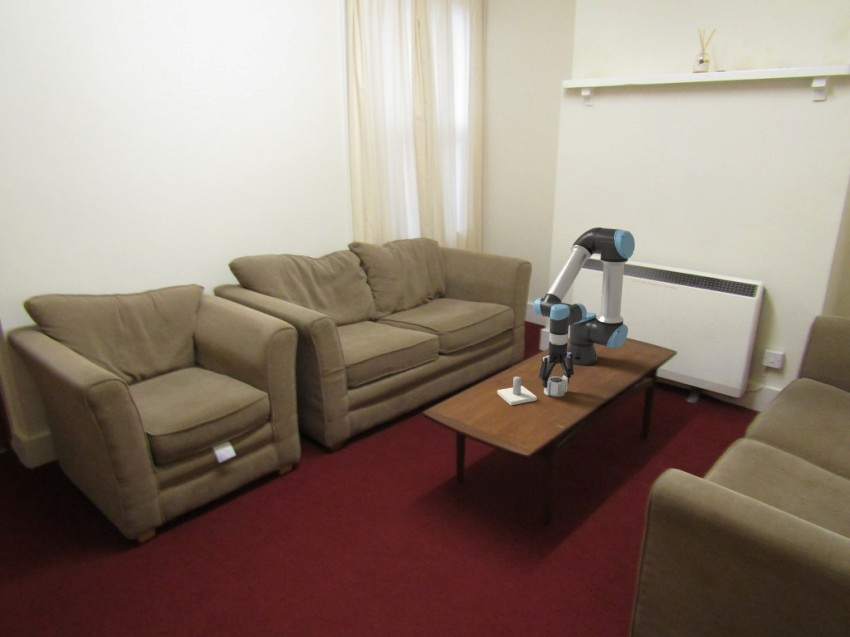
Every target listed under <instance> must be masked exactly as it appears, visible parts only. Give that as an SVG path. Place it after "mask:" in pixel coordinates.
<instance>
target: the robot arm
mask: <svg viewBox="0 0 850 637" xmlns="http://www.w3.org/2000/svg"><path fill="white" fill-rule="evenodd" d="M635 242H636V241H635V238H634V235H633V234H632V232H630V231H628V230H623V229H621V228H620V229H619V228H608V227H598V226H597V227H593V228H590V229H588V230H586V231H585V232H584V233H582V234H581V235H580V236H579V237H578V238H577V239H575V241H574V242H573V244H572V246H571V248H570V254H569V255H568V257H567V258H566V260H565V261H564V263H563V264H562V267H561V268H560V270H559V272H558V274H557V275H556V277H555V279H554V280H553V282H552V283H551V286H550V287H549V289H548V290H547V292H546V294H545V296H544V297H538V298H536V299H535V301H534V302H533V312H534V313H535V314H536V315H539V316H541V317H546V318H550V319H549V332H548V334H549V335H548V336H549V338H548V354H547V355H546V356H544V355H542V357H541V365H540V370H539V375H538V378H539V379H540V380H541V381H542V387H543V394H544V395H546V396H550V395H549V384H550V381H549V380H548V379H549V377H551V374H552V372H553V369H554V367H556V365H558V364H560V366H561V370H562V372H563V375H562V378H564V379H565V380H566V384H565V393H567V392H568V384H569V383H570V378H571V377H572V376H573V375H574V374H575V370H574V365H578V366H588V365H594V364H595V363H596V362H597V360H598V355H597V351H596V348H595V344H597V345H599V346H603V347H607V348H611V349H618V348H620V347H621V346H623V344H624V343H625V341H626V339H627V336H628V333H629V327H628V325H627V324H624V317H622V315H621V313H622V312H621V311H622V310H621V309H622V297H623V284H624V283H623V282H624V272H625V271H624V268H625V264H626V263H627V262H628V261H629V259H630V258H632V256H633V254H634V252H635V249H636V248H635V246H636V244H635ZM594 254H597V255H600V256H599V257H600V258H599V259H600V261H601V262H602V264H603V269H602V284H601V297H600V298H601V301H600V302H601V303H600V314H599V315H598V316H597V314H596V313H594V312H589V311H587V308H586V306H585V305H584V304H582V303H581V302H579V303H575V302H574V303H573V304H571V303H566V302H563V300H564V299H565V297H566V295H567V294H568V292H569V290H570V289H571V287H572V285H573V283H574V282H575V280H576V279H577V277H578V275H579V273H580V272H581V270H582V269H583V267H584V265H585V263H586V261H587V260H590V259H591V257H592V256H593V255H594Z"/></svg>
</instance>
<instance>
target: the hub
mask: <svg viewBox="0 0 850 637" xmlns="http://www.w3.org/2000/svg"><path fill="white" fill-rule="evenodd" d="M548 380H549V381H550V384H549V395H548V396H549V397H550V396H551V397H556V398H558V397H563V396H565V394H566V392H565V384H566V380H565V379H564V378H563V376H556V375H555V376H554V375H553V376H550V377H549V379H548Z"/></svg>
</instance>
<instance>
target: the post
mask: <svg viewBox="0 0 850 637" xmlns="http://www.w3.org/2000/svg"><path fill="white" fill-rule="evenodd" d="M512 379H513V380H512V381H513V383H512V387H507V388H502V389H497V391H496V392H497V395H498V396H500V398H502V399H503V400H504V401H505V402H507V404H509V405H510V406H513V405H519V404H520V405H521V404H524V403H530V402H534V401H538V399H537V398H538V396H536V395H535V394H534V393H533V392H531V391H530V390H528V389H527V388H526V387H525V386H523V385H522V377H521V376H513V378H512Z"/></svg>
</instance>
